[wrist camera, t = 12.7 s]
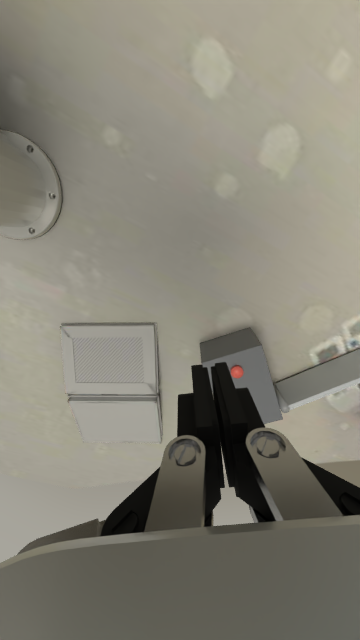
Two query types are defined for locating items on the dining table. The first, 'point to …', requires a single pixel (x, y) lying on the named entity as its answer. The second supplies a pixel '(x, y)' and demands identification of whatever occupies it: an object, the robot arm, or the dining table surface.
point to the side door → (318, 381)
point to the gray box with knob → (244, 368)
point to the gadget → (113, 381)
